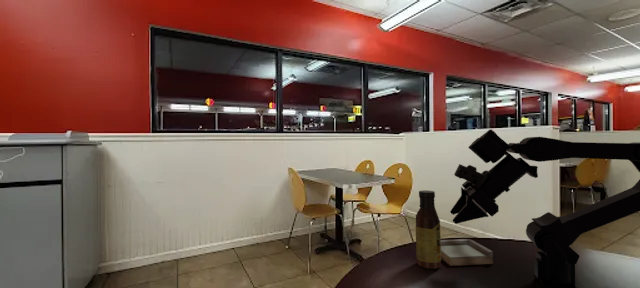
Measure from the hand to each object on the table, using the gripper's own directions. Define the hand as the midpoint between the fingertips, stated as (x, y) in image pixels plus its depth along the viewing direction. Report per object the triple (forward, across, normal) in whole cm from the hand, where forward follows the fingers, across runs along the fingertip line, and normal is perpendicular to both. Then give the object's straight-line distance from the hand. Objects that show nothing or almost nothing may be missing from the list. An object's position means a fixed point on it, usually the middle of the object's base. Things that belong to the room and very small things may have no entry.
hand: (452, 217), depth 73 cm
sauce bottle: (+14, 0, +5) cm, 15 cm away
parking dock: (+8, -8, +11) cm, 16 cm away
